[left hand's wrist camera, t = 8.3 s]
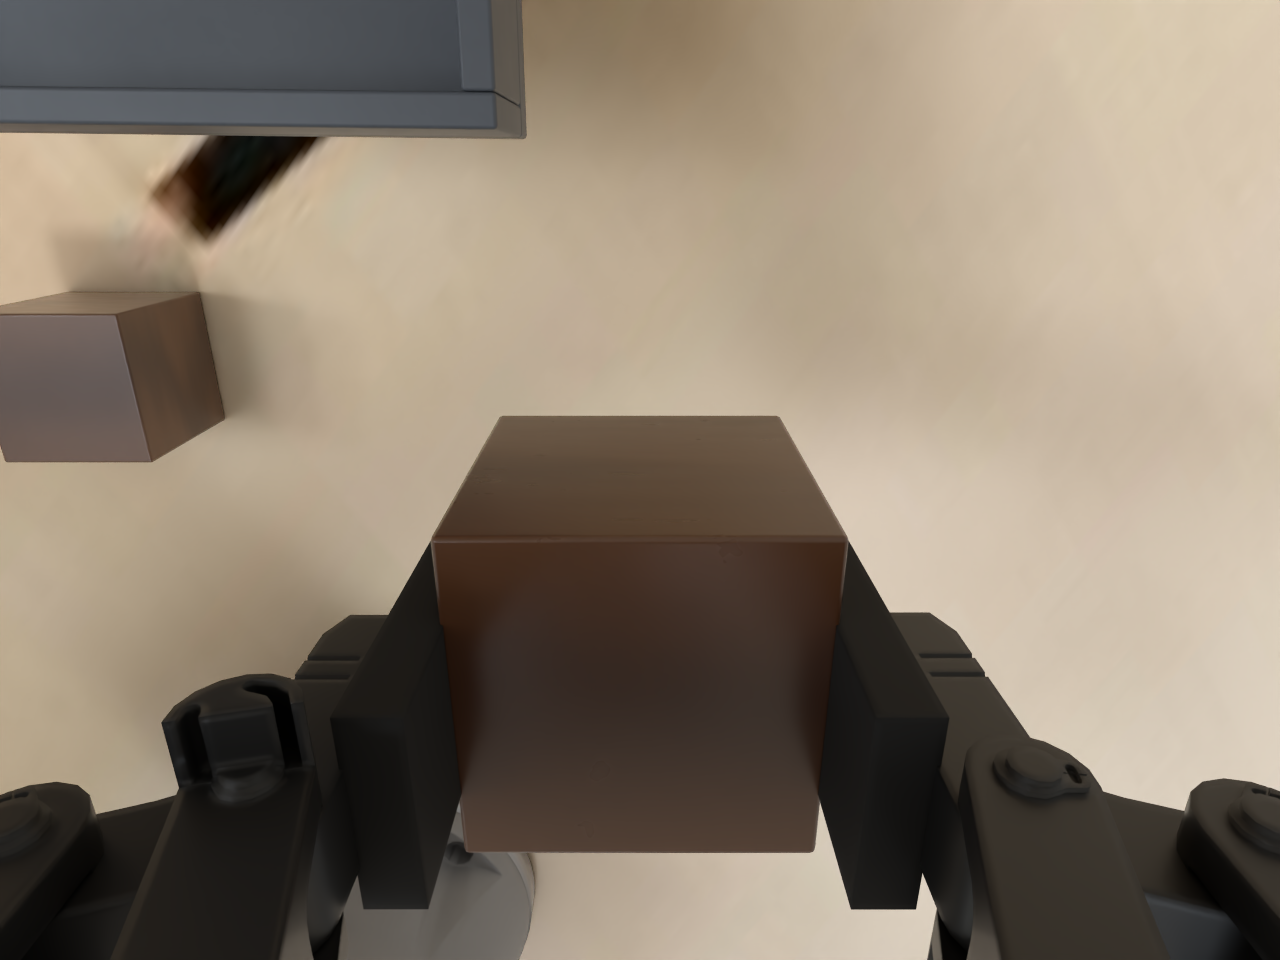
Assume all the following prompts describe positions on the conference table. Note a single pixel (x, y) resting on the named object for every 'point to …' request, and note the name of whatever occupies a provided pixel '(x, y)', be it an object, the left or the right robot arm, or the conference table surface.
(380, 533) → the conference table surface
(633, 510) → the cube
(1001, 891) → the left robot arm
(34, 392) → the cube
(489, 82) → the tray
